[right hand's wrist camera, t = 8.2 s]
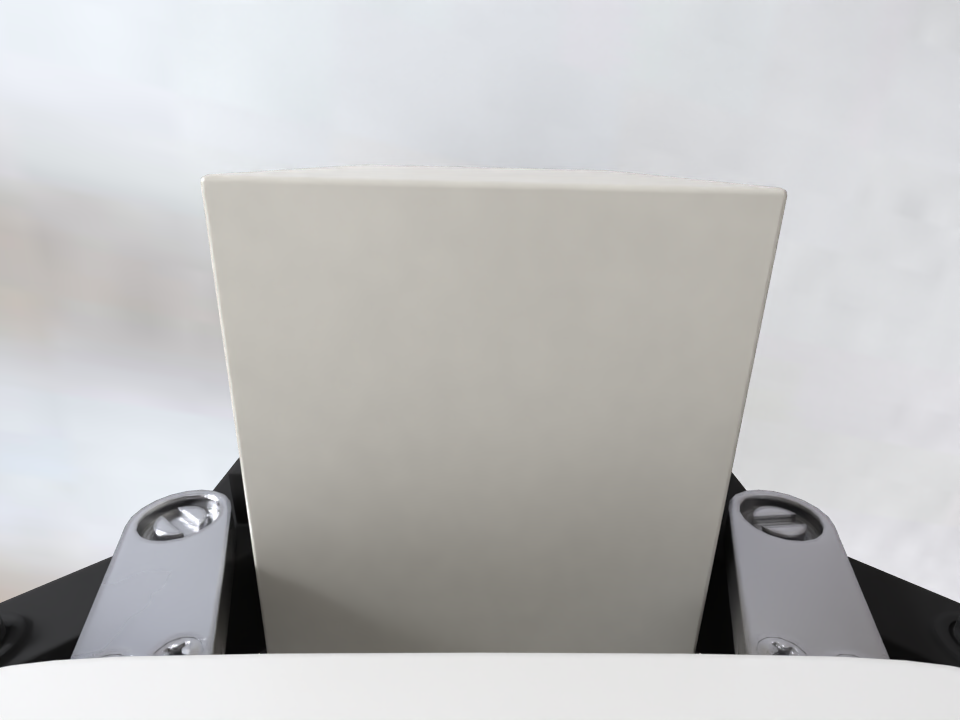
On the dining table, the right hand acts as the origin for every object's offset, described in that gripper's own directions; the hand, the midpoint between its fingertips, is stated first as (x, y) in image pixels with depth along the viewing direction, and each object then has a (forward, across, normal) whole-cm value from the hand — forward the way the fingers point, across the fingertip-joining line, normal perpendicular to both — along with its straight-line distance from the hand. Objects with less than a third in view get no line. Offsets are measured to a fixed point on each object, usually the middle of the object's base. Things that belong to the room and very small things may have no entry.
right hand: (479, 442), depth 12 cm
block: (+2, 0, -24) cm, 24 cm away
